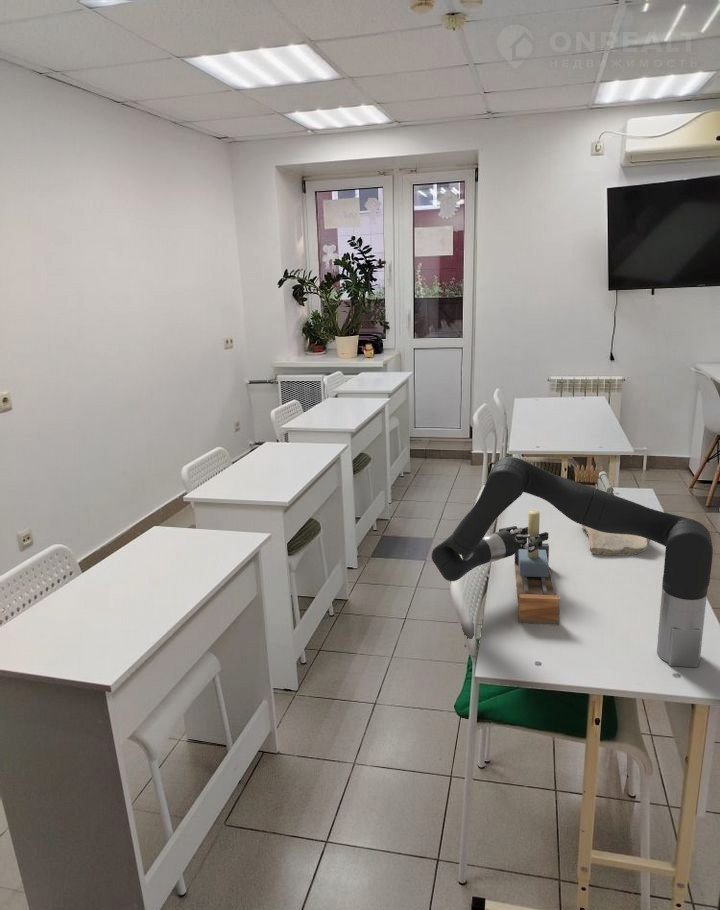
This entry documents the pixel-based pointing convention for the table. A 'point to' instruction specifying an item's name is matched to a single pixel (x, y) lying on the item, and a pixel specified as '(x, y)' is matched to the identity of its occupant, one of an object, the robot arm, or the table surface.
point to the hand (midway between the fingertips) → (540, 532)
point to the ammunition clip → (588, 481)
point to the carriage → (536, 560)
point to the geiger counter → (604, 483)
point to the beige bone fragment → (615, 543)
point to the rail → (534, 590)
